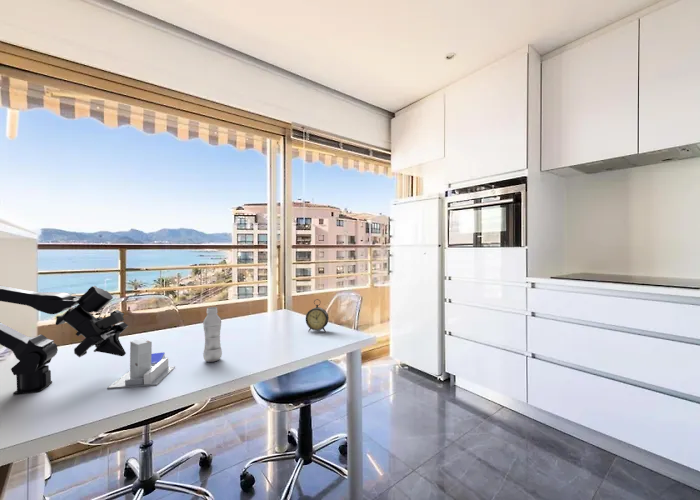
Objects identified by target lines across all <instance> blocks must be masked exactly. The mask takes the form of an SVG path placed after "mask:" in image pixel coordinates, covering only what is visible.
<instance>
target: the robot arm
mask: <svg viewBox="0 0 700 500" xmlns="http://www.w3.org/2000/svg"><path fill="white" fill-rule="evenodd" d="M113 299H114V297H113V295H112V294H111V293H110V292H109V291H107V290H104V289H103V288H100V287H97V286H96V285H93V286H90V287H89V288H88V289H87V291H85V293H84V294H82V295H81V296H77V295H76V296H75V295H72V294H70V293H67V292H61V291H60V292H56V291H50V292H48V291H47V292H46V291H45V292H44V291H43V292H41V291H39V292H38V291H33V290H27V289H21V288H16V287H10V286H5V285H4V286H3V285H0V302H4V303H10V304H15V305H16V304H17V305H22V306H28V307H30V308H33V309H34V310H36V311H38V312H42V313H45V314H48V315H57V314H60V313H62V312H64V313H63V314H61V315H57V316H55V318H56V321H55V325H56V326H60V325H63V324H68V325H69V326H70V327H71V328H72V329H74V330H76V333H75V335H76V336H77V337H80V336H83V338H84V339H83V340H82V341H81V342H80V343H79V344H78V345H76V347H75V348H74V349H73V351H74V355H76V356H77V357H78V358H81V357H83V356H86V354H87V353H88V352H87V351H88V350H89V349H90V348H92V347H93V346H94V347H95V349H94V350H93V352H94V353H96V352H97V353H105V354H110V355H115V356H117V357H118V356H119V357H124V356H125V355H126V354H127V352H126V351H125V348H124V347H123V346H122V343H121V341H120V339H119V337H120V335H121V334H122V333H123V332H124V331H125V330H126V329H127V328H129V325H128V324H127V323H126V322H124V320H125V319H124V316H125V313H123V312H122V311H120V310H119V309H116V310H113V311H112V312H110V314H109V315H108V316H105V317H104V318H103V317H101V316H98V317H95V316H94V315H93V314H92V313H99V311H101V310H102V309H103V308H104V307H106V306H107V304H108V303H110V302H111V301H112V300H113ZM74 306H75V307H74ZM72 307H73V308H72ZM65 311H66V312H65ZM0 345H1V346H2V347H4V348H6V349H8V350H11V351H12V353H13V354H14V357H15V358H16V360H18V362H17V363H16V364H15V365H13V366H12V367H11V368H10V370H11V373H12V374H13V376H16V390H15V391H13V392H12V394H13V395H20V394H21V395H22V394H27V393H35V392H36V393H37V392H41V391H42V390H44V389H45V388H47V387H48V386H49V385H51V384H52V383H53V380H52V374H51V370H50V369H49V368H50V367H49V365H48V364H50V363H51V360H52V359H53V358H54V357H55V356H56V355H57V353H58V345H57V344H56V343H55V340H54V339H50V338H48V337H46V336H45V335H43V334H38V335H36V336H34V337H31V336H27V335H25V334H24V333H22V332H20V331H18V330H16V329H14V328H12V327H10V326H8V325H6V324H4V323H2V322H0Z"/></svg>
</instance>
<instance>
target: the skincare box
mask: <svg viewBox="0 0 700 500" xmlns="http://www.w3.org/2000/svg"><path fill="white" fill-rule="evenodd" d="M129 343H130V345H129V346H130V349H129V350H130V351H129V352H130V353H129V362H130V363H129V371H130V377H131V378H144V374H145V373H147V372H148V371H149V370H150V369H151V354H153V351H152V346H153V345H152V341H151V340H149V339H148V338H147V339H146V338H145V337H141V338H138V339H133V340H130V342H129Z"/></svg>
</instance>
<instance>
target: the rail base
mask: <svg viewBox="0 0 700 500" xmlns="http://www.w3.org/2000/svg"><path fill="white" fill-rule="evenodd" d="M175 368H176V366H175V365H173V366H169V357H166V358H163V359H162V360H161V361H159V362H158V363H157V364H156V365H155V366H151V369H150V370H149V371H148V372H147V373H145V374H144V378H131V377H130V370H129V371H127V372H126V373H125V374H123V375H122V376H121V377H119V378H118V379H117V380H116V381H114V382H113V383H111V384H110V385H109V386H108V387H107V389H108V390H110V389H112V390H113V389H125V388H140V387H154V386H155V387H156V386H158V385H160V383H161V382H162V381H163V380H164V379H165V378H166V377H167V376H168V375H169V374H170V373H171V372H172V371H173V370H174V369H175Z"/></svg>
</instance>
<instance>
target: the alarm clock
mask: <svg viewBox="0 0 700 500" xmlns="http://www.w3.org/2000/svg"><path fill="white" fill-rule="evenodd" d="M316 301H319V304H316V303H315V302H316ZM313 303H314V305H315V307H313V308H312V309H309V311H308V312H307V313H306V315H305V323H306V325H307V327H308V328H309V329H308V332H310V331H316V332H317V331H321V330H323V331H324V333H326V332H327V331H326V329H325V327H326V326H327V325H328V323H329V313H328V312H327V310H326V309H324V308H322V307H319V306H320V305H321V300H320V299H319V298H316V299H314V300H313Z"/></svg>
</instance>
